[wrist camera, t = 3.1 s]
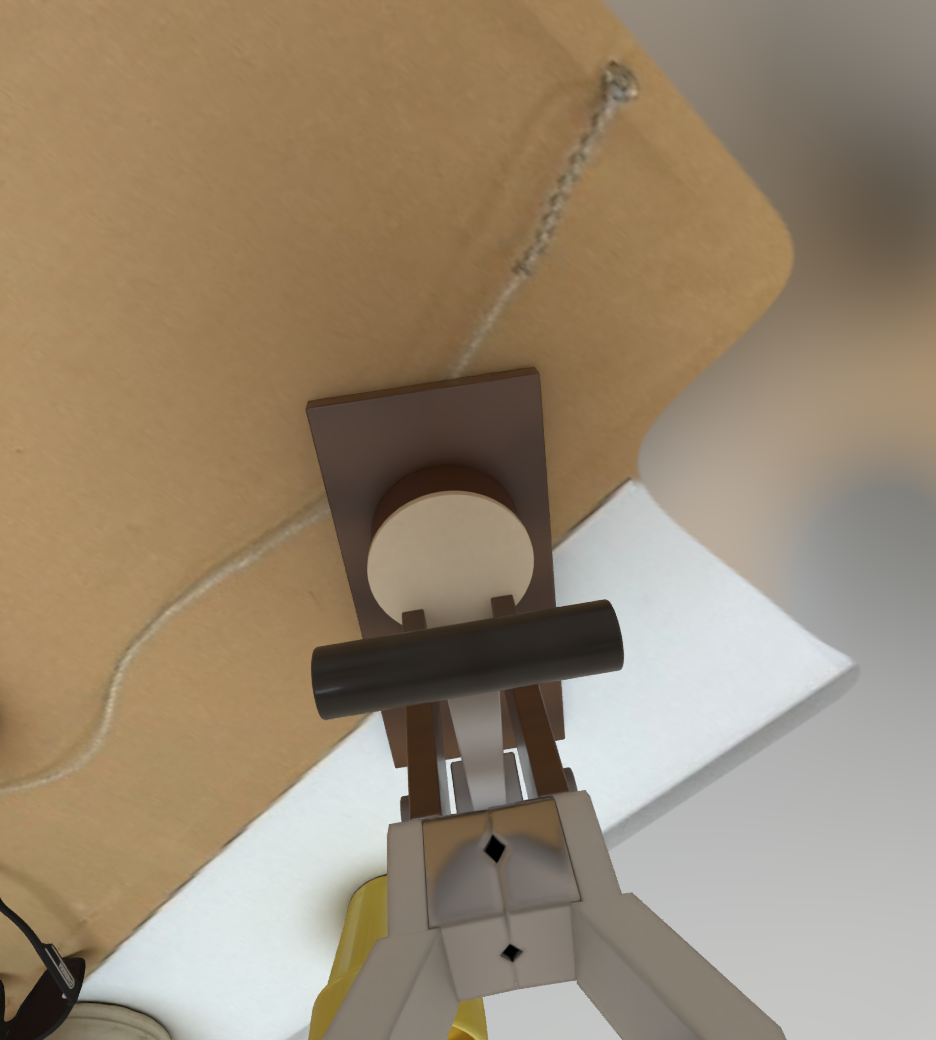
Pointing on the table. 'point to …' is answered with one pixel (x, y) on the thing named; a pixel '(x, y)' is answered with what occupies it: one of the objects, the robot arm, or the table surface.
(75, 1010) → the jug
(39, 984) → the sunglasses
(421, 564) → the brown cream round block
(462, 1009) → the flower pot
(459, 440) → the dark brown piece
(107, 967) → the table surface
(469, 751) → the lever handle
